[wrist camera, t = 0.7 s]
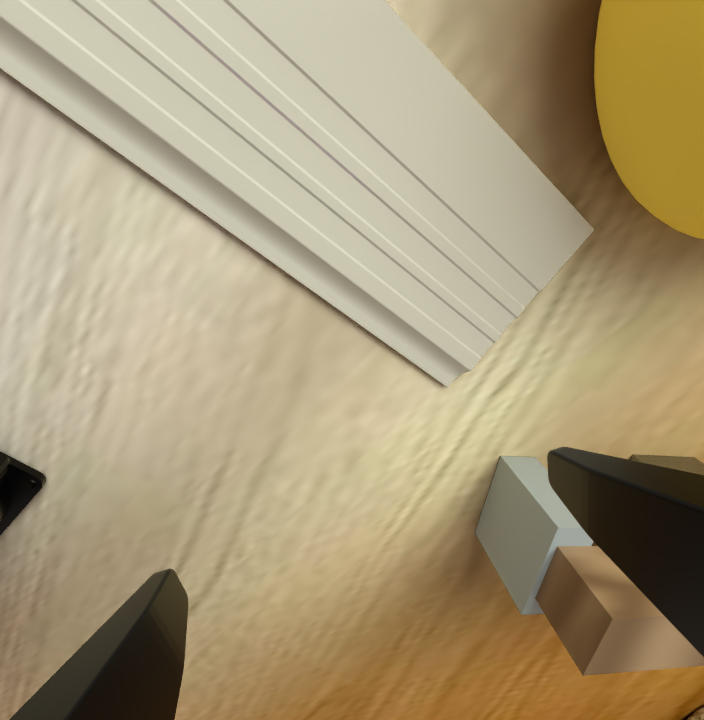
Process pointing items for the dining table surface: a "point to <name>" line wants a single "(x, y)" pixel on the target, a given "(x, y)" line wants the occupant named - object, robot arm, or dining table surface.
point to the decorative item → (697, 715)
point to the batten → (608, 617)
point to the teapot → (654, 104)
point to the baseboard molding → (316, 153)
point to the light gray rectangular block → (525, 528)
